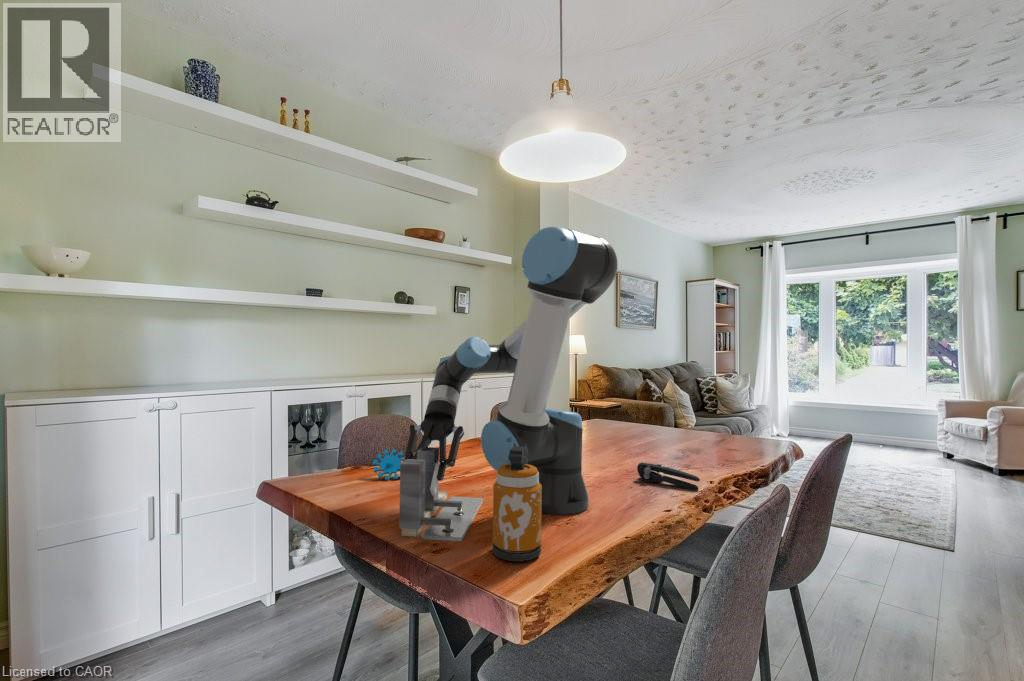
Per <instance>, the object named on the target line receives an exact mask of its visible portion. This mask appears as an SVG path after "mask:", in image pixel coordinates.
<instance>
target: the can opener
mask: <svg viewBox="0 0 1024 681" xmlns="http://www.w3.org/2000/svg"><path fill="white" fill-rule="evenodd" d="M636 469H637V470H636V471H637V473H638V476H639V477H640V478H641V480H642V481H644V482H646V483H656V482H662V483H663V482H664V483H668V484H671V485H674V486H676V487H679V488H681V489H687V490H693V491H697V490H699V486H698V485H696V484H695V483H694V484H693V483H691V482H687V481H684V480H689V481H693V482H699V481H701V479H700V478H699V477H698V476H697V475H694V474H692V473H688V472H685V471H682V470H679V469H675V468H672V467H668V466H662V464H661V463H657V464H655V463H648V462H642V461H641V462H639V463H638V465H637V468H636ZM660 473H662V474H663V475H662V474H660ZM667 475H668V476H667ZM670 476H673V477H670ZM674 477H676V478H674ZM677 477H678V478H681V479H684V480H681V479H678V478H677Z"/></svg>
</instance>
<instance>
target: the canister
mask: <svg viewBox="0 0 1024 681" xmlns="http://www.w3.org/2000/svg"><path fill="white" fill-rule="evenodd" d="M526 454H527V457H526ZM507 459H508V460H507ZM505 460H506V461H505ZM509 460H510V463H511V464H505V465H502V466H500V467H499V468H498V471H496V478H495V479H496V480H495V481H496V482H494V483H493V486H492V487H493V492H492V494H493V496H492V498H493V499H492V552H493V554H494V555H495V556H496V557H498V558H500V559H502V560H506V561H509V562H516V561H518V562H525V561H524V560H526V561H529V560H533V559H535V558H538V557H539V555H540V554H541V552H542V544H541V543H542V512H541V504H542V485H541V484H540V483H539V472H538V470H537V468H536V467H534V466H532V465H528V449H527V445H526V443H525V447H519V446H516V445H515V443H514V446H513V448H512V449H510V454H509V455H508V458H506V459H504V460H502V461H500V462H499V464H502V463H505V462H507V461H509ZM503 461H504V462H503ZM525 462H526V464H525Z"/></svg>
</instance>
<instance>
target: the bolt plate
mask: <svg viewBox="0 0 1024 681" xmlns="http://www.w3.org/2000/svg"><path fill="white" fill-rule="evenodd" d="M447 501H462V510H461V511H458V510H457V507H442V508H441V509H440V511H439V512H438V514H437V515H436V516H435V517H434V518H445V519H451V525H450V529H448V530H447V529H445V526H443V525H428V527H427V528H425V530H424V532H423V533H422V535H421V540H431V541H446V542H447V541H450V542H463V540H464V538H465V536H466V534H467V532H468V530H469V528H470V527H471V525H472V523H473V521H474V520H475V517H476V515H477V513H478V511H479V510H480V507H481V506H482V503H483V502H484V498H483V497H468V496H452V495H451V496H450V497H449V499H448V500H447Z"/></svg>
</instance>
